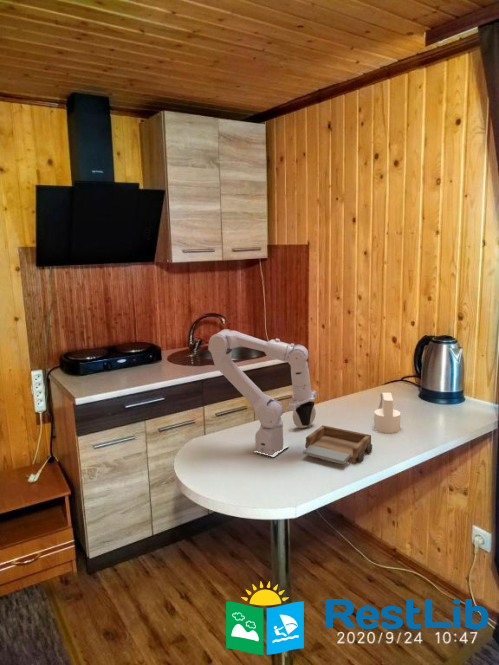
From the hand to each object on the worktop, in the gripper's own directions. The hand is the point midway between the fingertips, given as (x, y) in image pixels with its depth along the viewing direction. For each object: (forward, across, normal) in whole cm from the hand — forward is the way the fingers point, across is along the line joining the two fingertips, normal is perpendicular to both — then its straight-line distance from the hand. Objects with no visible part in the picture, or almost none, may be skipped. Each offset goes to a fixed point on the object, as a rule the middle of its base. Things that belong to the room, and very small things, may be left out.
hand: (305, 424), depth 153 cm
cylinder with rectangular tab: (+12, +32, -14) cm, 37 cm away
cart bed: (+10, +6, -8) cm, 14 cm away
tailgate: (+8, 0, -8) cm, 11 cm away
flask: (+12, +40, -10) cm, 43 cm away
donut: (+9, +18, +12) cm, 23 cm away
